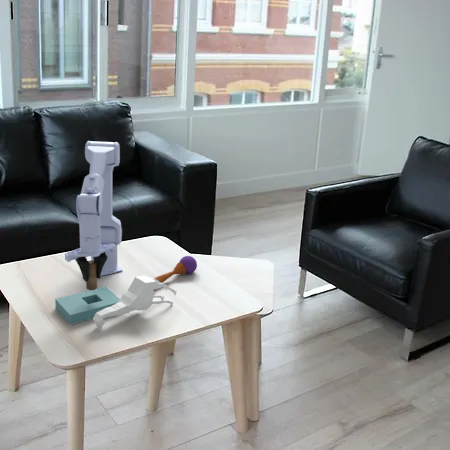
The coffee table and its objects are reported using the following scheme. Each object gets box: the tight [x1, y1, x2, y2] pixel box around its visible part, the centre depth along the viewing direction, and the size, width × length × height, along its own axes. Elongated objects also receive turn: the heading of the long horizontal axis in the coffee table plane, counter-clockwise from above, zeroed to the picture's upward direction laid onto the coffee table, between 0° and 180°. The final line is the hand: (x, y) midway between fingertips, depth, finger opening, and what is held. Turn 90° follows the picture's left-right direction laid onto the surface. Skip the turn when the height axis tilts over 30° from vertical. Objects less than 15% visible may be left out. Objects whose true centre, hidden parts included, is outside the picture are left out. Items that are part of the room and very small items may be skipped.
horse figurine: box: [92, 275, 178, 331], centre depth 182 cm, size 5×16×25 cm
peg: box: [85, 260, 98, 291], centre depth 182 cm, size 3×3×8 cm
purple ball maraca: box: [154, 255, 198, 283], centre depth 205 cm, size 6×6×20 cm
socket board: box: [54, 286, 120, 325], centre depth 184 cm, size 11×16×3 cm
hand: (91, 278), depth 182 cm, fingers closed on peg, 3 cm apart
